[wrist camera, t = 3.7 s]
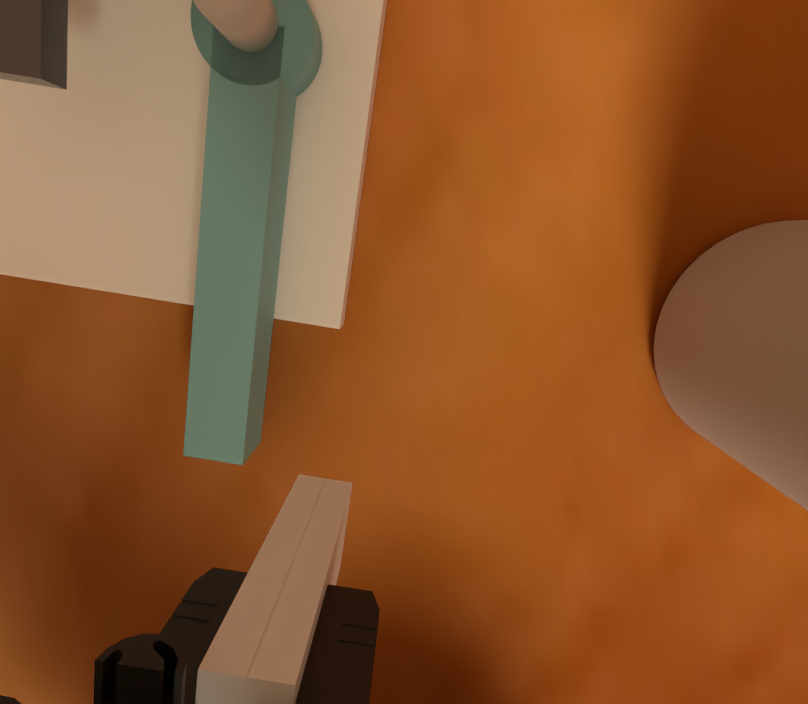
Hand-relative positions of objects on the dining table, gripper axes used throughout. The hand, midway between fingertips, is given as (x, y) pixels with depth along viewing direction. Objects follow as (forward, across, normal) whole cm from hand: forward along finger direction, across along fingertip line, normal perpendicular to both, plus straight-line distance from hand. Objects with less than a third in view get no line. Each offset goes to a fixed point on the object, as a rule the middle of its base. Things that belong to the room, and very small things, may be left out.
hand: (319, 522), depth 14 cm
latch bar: (+14, +7, -7) cm, 17 cm away
